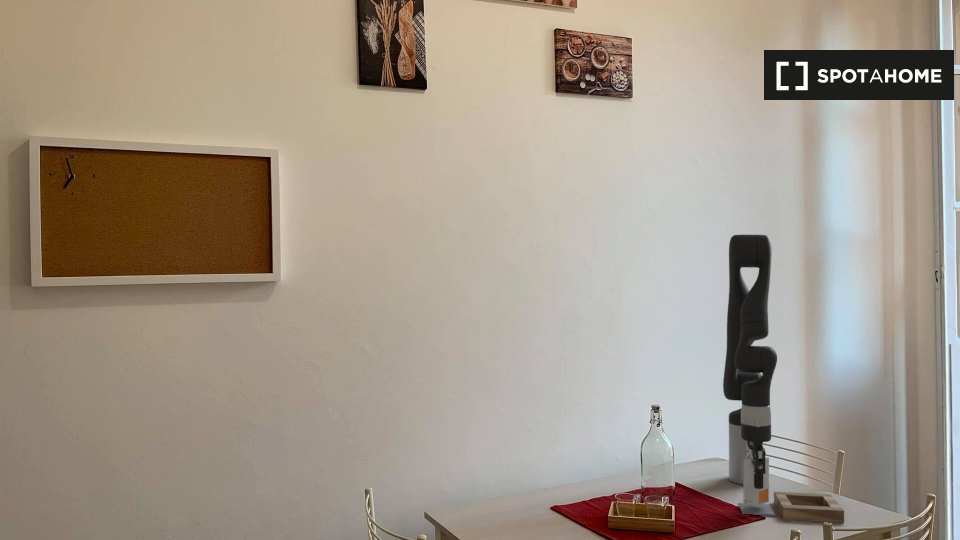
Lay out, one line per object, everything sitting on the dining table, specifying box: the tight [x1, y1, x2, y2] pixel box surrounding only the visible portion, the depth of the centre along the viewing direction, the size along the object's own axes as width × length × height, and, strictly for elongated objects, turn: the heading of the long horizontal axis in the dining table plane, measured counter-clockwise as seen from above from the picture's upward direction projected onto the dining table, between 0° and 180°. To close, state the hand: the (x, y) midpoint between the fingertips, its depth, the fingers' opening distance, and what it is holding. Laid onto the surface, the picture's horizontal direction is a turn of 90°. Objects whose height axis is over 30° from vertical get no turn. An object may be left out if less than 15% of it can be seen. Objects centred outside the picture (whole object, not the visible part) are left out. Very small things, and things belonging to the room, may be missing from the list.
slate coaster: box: [737, 502, 776, 518], centre depth 203 cm, size 8×8×1 cm
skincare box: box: [742, 456, 770, 506], centre depth 202 cm, size 6×4×12 cm
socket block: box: [773, 491, 845, 523], centre depth 201 cm, size 13×14×3 cm
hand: (756, 483), depth 202 cm, fingers closed on skincare box, 7 cm apart
